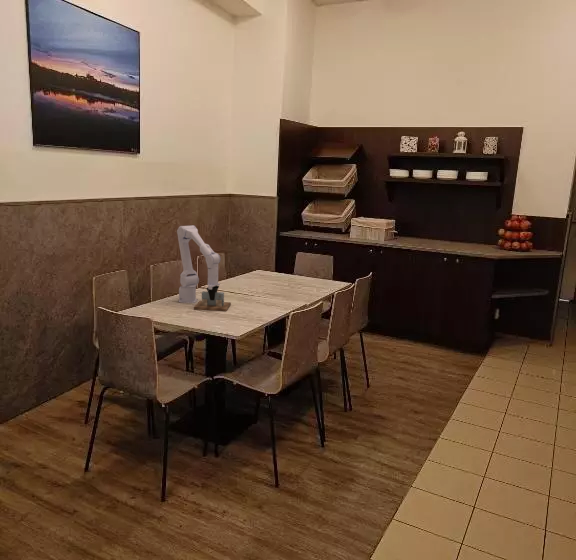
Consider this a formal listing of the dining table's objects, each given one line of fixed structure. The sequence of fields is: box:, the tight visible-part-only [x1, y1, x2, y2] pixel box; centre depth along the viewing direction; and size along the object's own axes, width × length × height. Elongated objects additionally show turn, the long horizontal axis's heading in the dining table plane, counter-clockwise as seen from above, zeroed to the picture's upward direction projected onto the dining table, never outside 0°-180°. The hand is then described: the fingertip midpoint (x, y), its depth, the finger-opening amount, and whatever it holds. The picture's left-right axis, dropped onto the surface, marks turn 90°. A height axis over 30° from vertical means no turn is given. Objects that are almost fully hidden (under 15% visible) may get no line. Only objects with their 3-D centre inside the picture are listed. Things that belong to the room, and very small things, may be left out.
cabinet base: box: [193, 298, 232, 312], centre depth 283 cm, size 18×14×5 cm
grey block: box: [201, 290, 225, 306], centre depth 282 cm, size 12×4×7 cm, turn 86°
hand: (212, 299), depth 282 cm, fingers closed on grey block, 3 cm apart
